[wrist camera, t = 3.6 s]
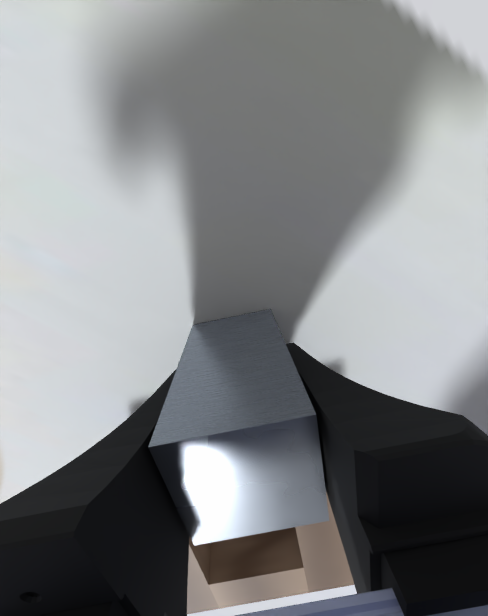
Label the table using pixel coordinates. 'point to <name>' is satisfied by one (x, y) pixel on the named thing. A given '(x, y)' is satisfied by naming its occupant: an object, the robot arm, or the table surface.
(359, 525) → the robot arm
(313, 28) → the table surface
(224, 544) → the socket block
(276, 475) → the steel peg
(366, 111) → the table surface
